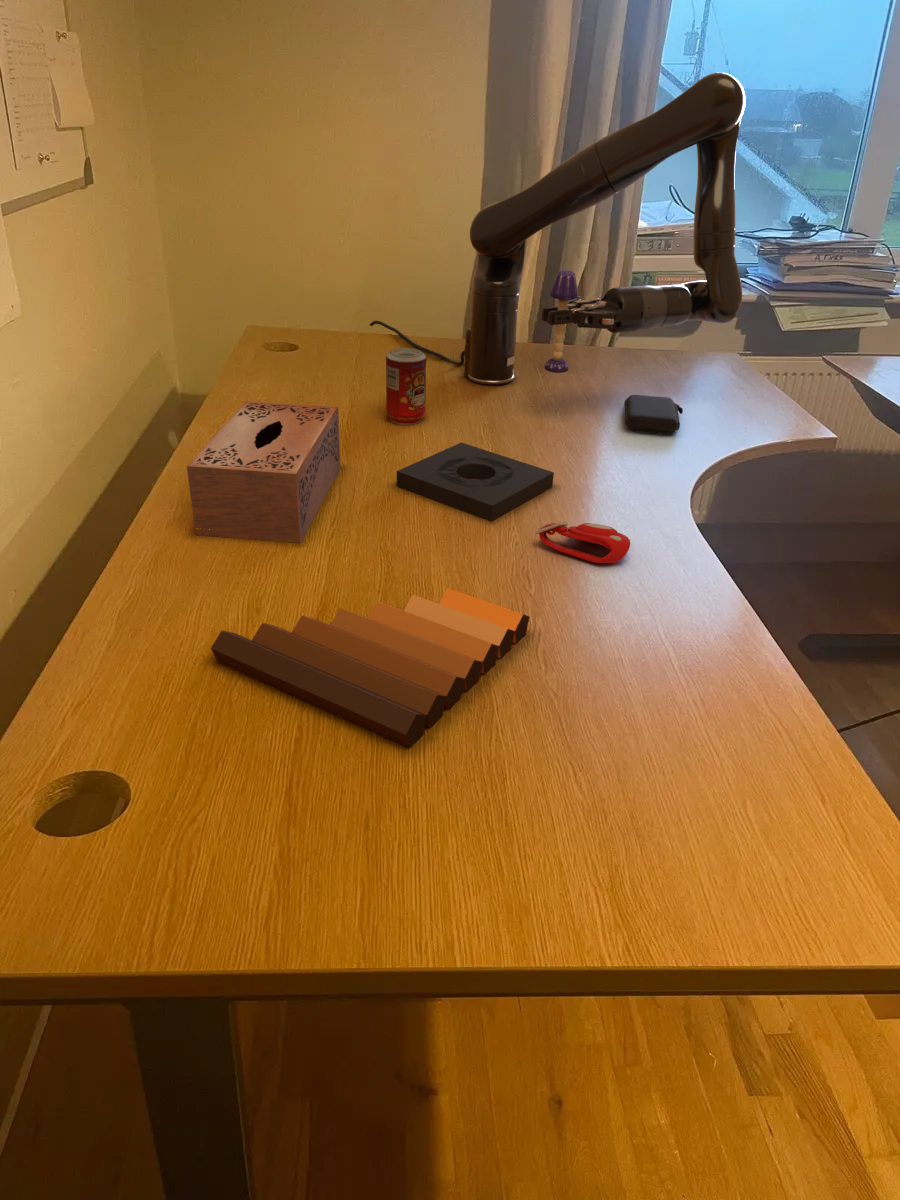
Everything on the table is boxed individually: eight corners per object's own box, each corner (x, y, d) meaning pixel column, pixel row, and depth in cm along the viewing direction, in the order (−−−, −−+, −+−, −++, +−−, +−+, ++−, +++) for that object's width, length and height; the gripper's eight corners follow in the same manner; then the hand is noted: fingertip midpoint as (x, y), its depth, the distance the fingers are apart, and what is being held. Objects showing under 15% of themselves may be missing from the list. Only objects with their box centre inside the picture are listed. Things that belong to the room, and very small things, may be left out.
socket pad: (396, 486, 136) (396, 471, 134) (460, 456, 147) (461, 442, 145) (491, 521, 126) (492, 505, 125) (552, 487, 137) (554, 472, 136)
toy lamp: (574, 368, 158) (583, 270, 149) (565, 375, 154) (574, 275, 145) (549, 364, 160) (556, 267, 151) (539, 371, 156) (546, 272, 147)
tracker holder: (604, 520, 125) (649, 534, 117) (599, 551, 126) (643, 567, 118) (531, 514, 120) (573, 529, 111) (526, 546, 121) (567, 563, 112)
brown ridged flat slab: (212, 664, 95) (405, 752, 84) (209, 638, 93) (405, 724, 82) (354, 570, 113) (528, 632, 102) (354, 546, 112) (530, 607, 101)
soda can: (410, 429, 156) (410, 359, 150) (378, 420, 160) (377, 352, 153) (433, 418, 161) (434, 350, 155) (402, 410, 165) (402, 343, 158)
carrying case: (684, 439, 156) (679, 411, 169) (687, 422, 155) (682, 395, 167) (623, 433, 158) (623, 406, 170) (626, 417, 156) (625, 391, 169)
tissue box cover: (251, 461, 142) (245, 400, 137) (340, 467, 141) (338, 407, 136) (195, 535, 120) (186, 466, 115) (300, 543, 119) (296, 473, 114)
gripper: (617, 278, 160) (529, 284, 154) (658, 295, 149) (566, 303, 144) (612, 320, 164) (527, 328, 158) (652, 340, 153) (562, 349, 148)
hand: (546, 316), depth 151 cm, fingers closed on toy lamp
